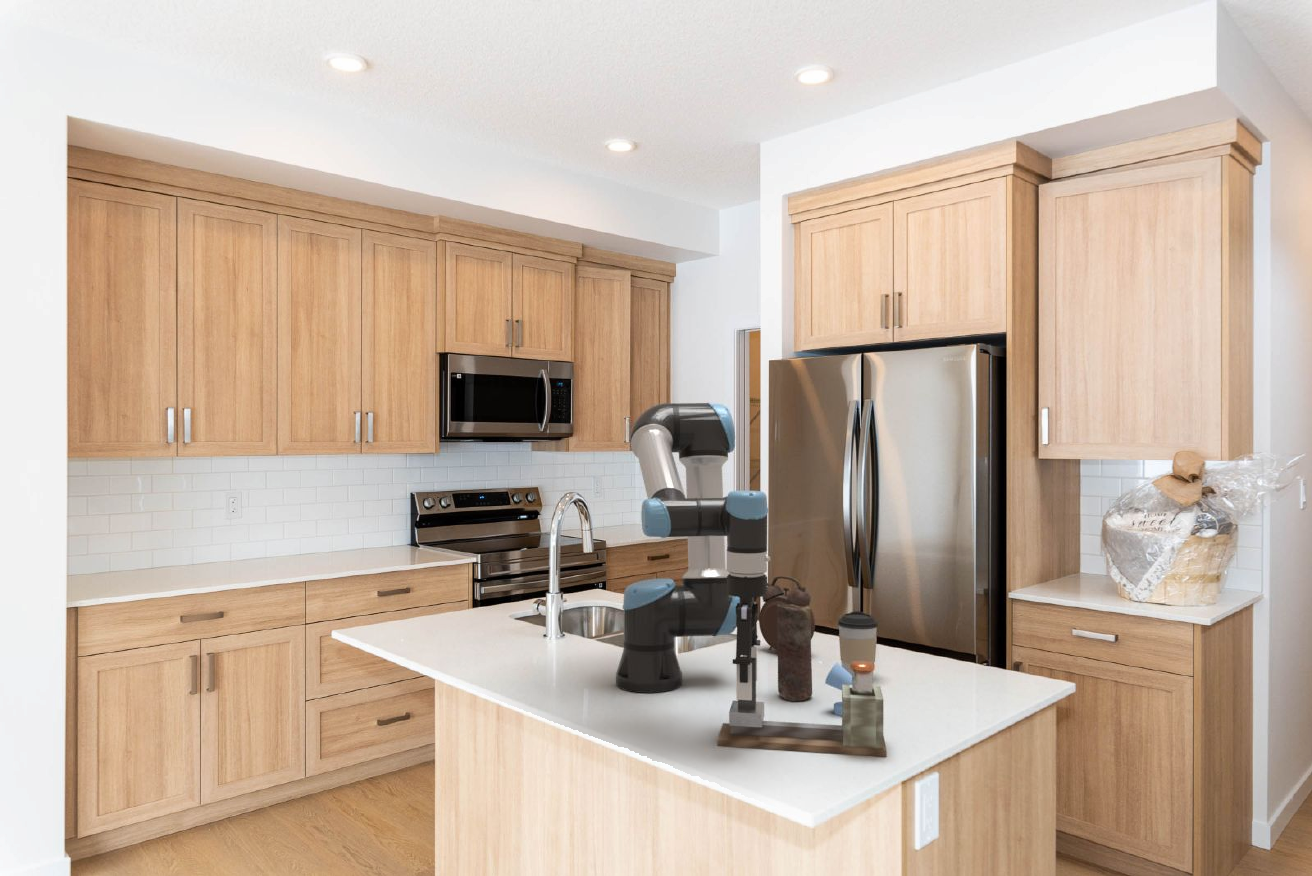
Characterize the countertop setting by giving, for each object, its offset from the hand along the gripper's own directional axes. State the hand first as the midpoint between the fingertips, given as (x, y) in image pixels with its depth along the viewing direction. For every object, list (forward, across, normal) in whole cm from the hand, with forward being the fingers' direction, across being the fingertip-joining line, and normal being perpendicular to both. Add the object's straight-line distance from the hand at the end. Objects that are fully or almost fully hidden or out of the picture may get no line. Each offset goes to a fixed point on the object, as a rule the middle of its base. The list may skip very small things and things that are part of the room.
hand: (747, 689), depth 164 cm
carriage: (+6, 0, 0) cm, 6 cm away
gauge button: (+2, 0, -21) cm, 21 cm away
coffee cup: (+9, +45, -22) cm, 51 cm away
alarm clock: (+9, +65, -5) cm, 66 cm away
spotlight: (+9, +19, -18) cm, 28 cm away
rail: (+9, 0, -10) cm, 14 cm away
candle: (+9, +28, -8) cm, 31 cm away
